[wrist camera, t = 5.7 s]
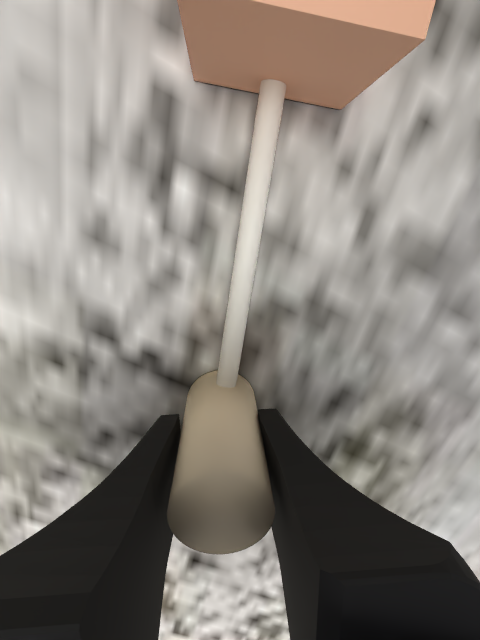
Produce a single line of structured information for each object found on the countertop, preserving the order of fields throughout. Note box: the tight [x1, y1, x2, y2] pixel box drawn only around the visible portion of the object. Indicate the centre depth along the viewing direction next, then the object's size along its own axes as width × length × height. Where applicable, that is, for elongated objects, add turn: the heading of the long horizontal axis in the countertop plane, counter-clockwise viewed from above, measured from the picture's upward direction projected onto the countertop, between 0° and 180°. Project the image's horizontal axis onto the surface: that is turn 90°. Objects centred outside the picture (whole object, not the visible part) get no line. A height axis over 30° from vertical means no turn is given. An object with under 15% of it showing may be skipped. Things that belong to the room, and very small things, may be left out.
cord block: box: [167, 0, 436, 554], centre depth 9 cm, size 4×16×5 cm, turn 171°
